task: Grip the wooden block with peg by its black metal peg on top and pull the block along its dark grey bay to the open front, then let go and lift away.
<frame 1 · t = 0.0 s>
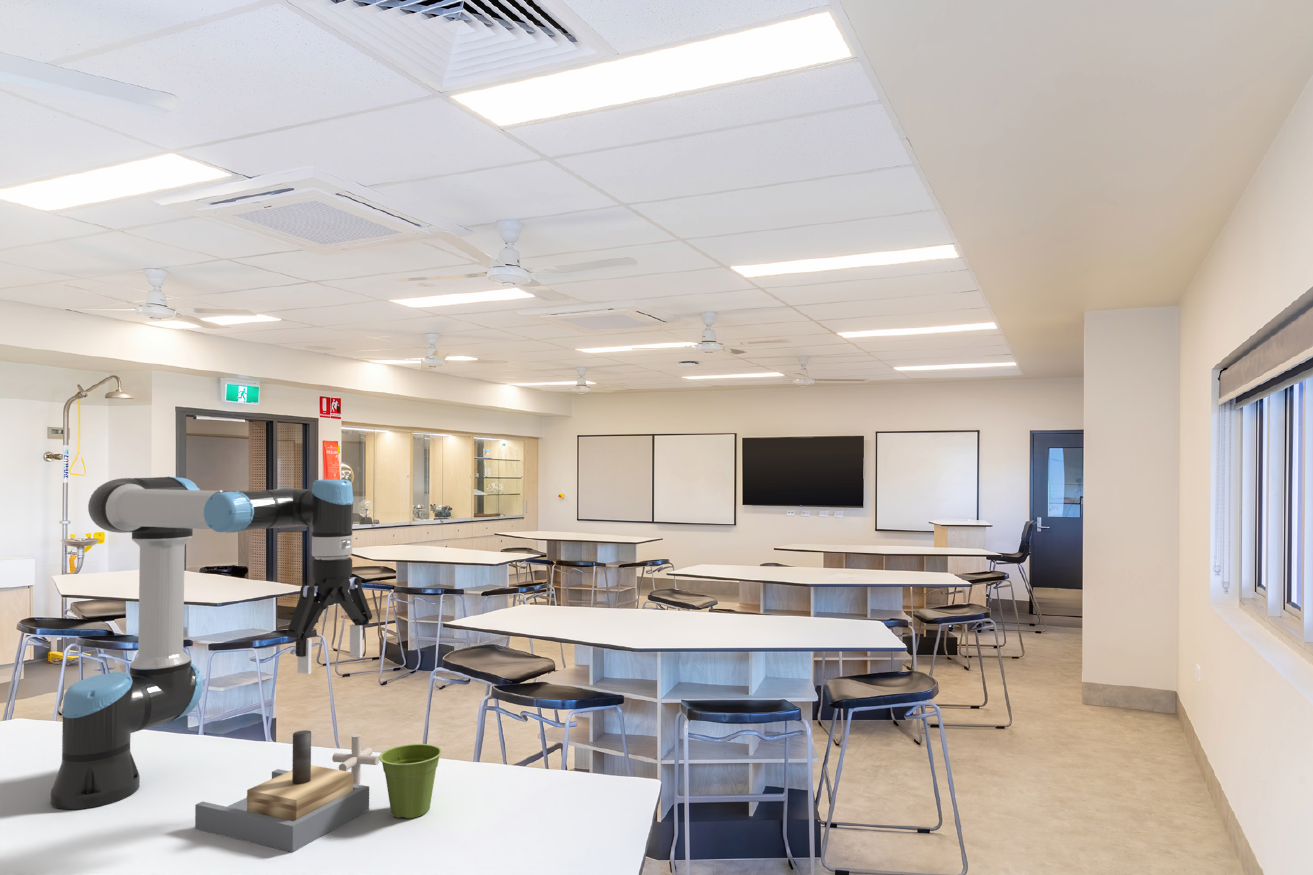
hand: (331, 664, 164), 28 cm above the table, tool pointing down, fingers open, 13 cm apart
pipe connector: (355, 783, 175), on the table
plant pot: (410, 812, 161), on the table
bay: (284, 818, 158), on the table
wooden block with peg: (301, 772, 156), point 9 cm above the table, slide at 0.0 cm
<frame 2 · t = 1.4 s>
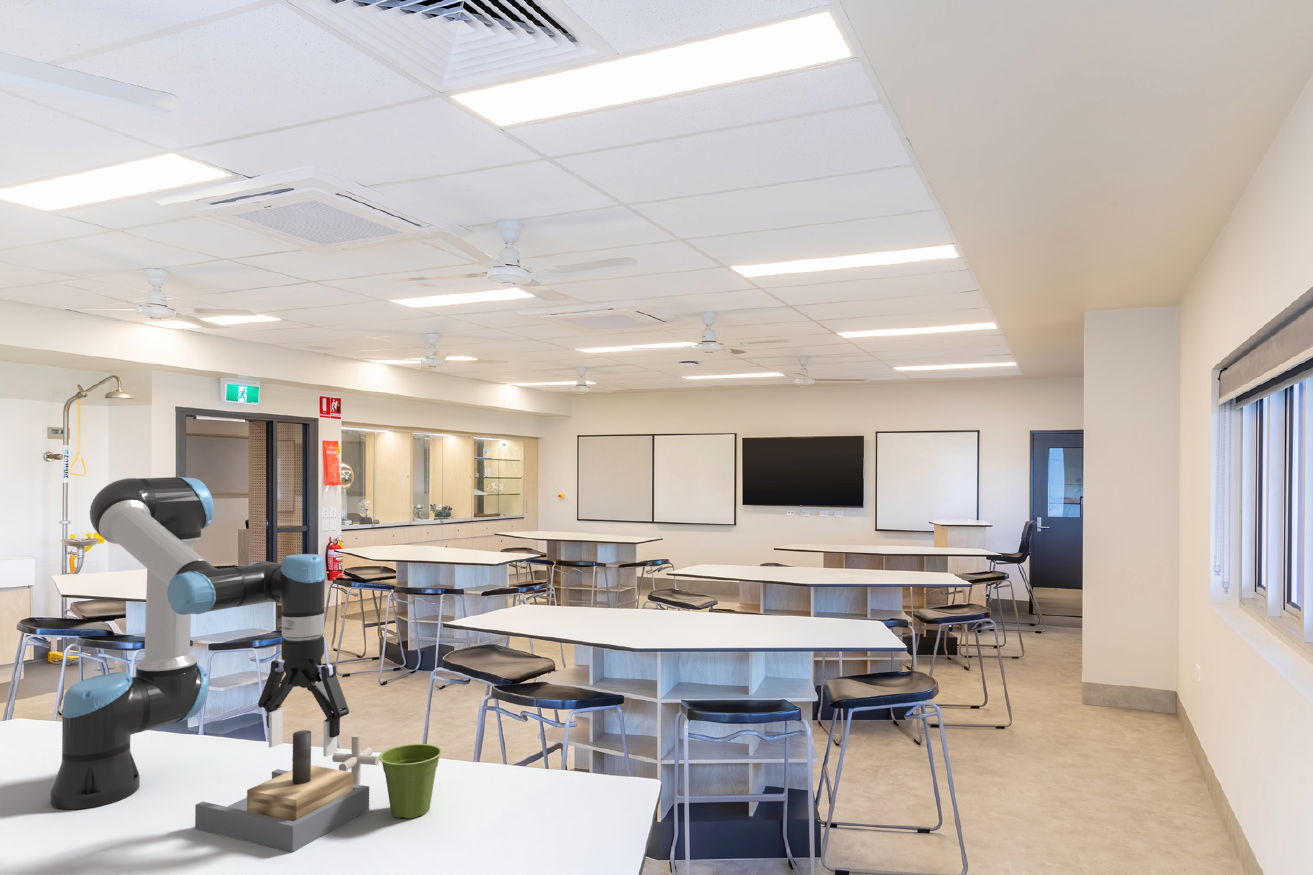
hand: (302, 749, 156), 14 cm above the table, tool pointing down, fingers open, 13 cm apart
nothing on the table moved.
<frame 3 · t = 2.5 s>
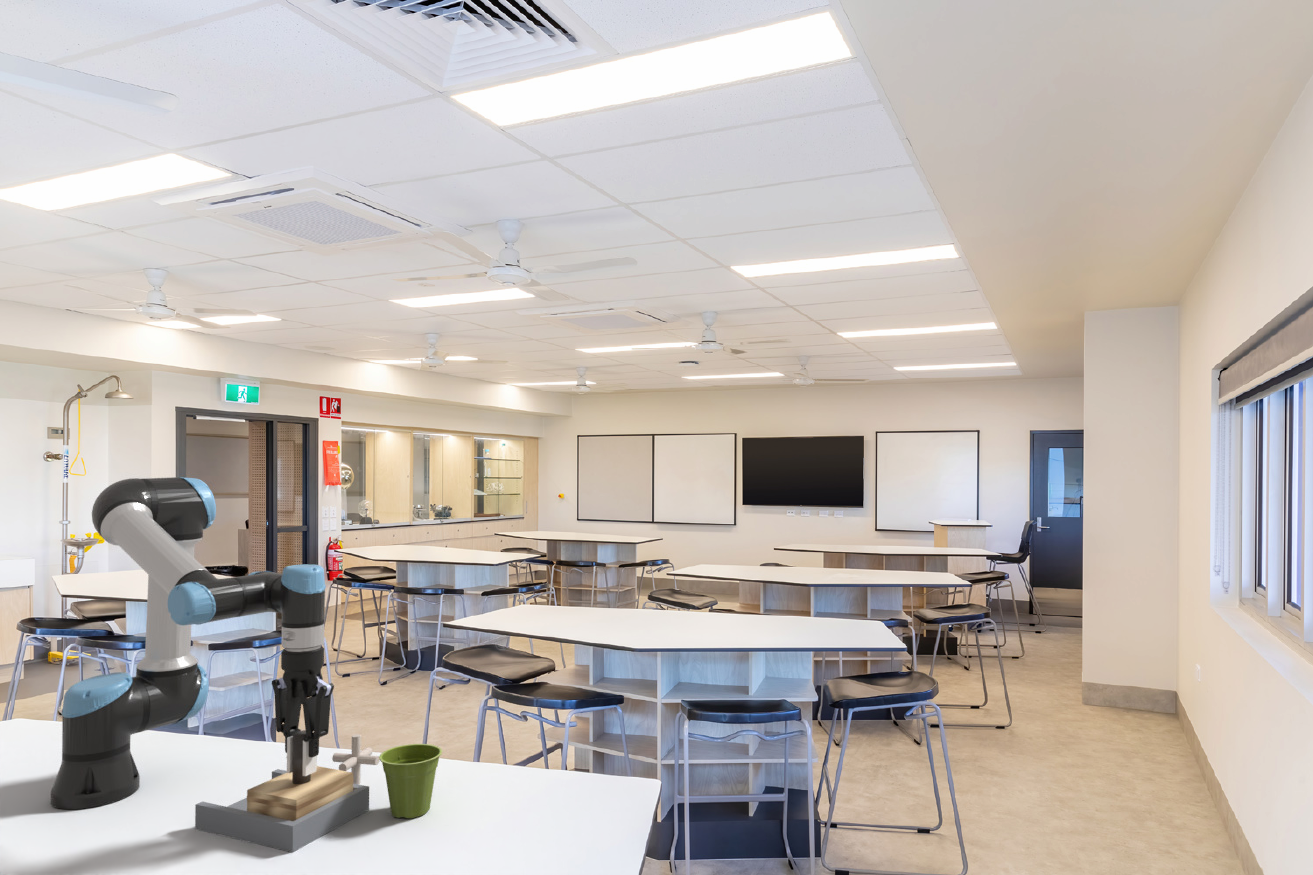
hand: (301, 771, 156), 10 cm above the table, tool pointing down, fingers closed on wooden block with peg, 3 cm apart
wooden block with peg: (301, 772, 156), point 9 cm above the table, slide at 0.0 cm, touching gripper
everything else where it was.
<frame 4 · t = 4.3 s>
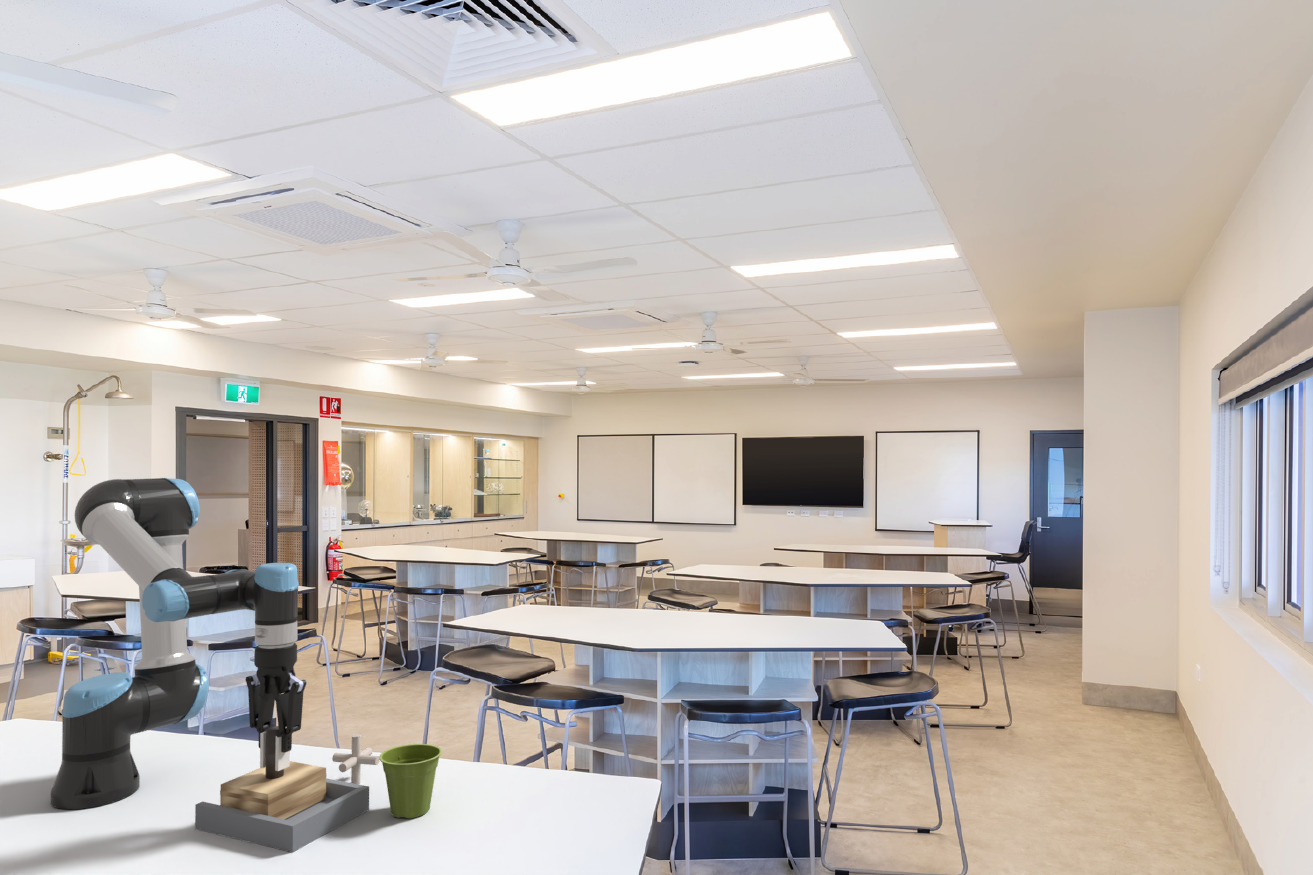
hand: (274, 766, 159), 10 cm above the table, tool pointing down, fingers closed on wooden block with peg, 3 cm apart
wooden block with peg: (274, 767, 159), point 9 cm above the table, slide at 6.8 cm, touching gripper
everything else where it was.
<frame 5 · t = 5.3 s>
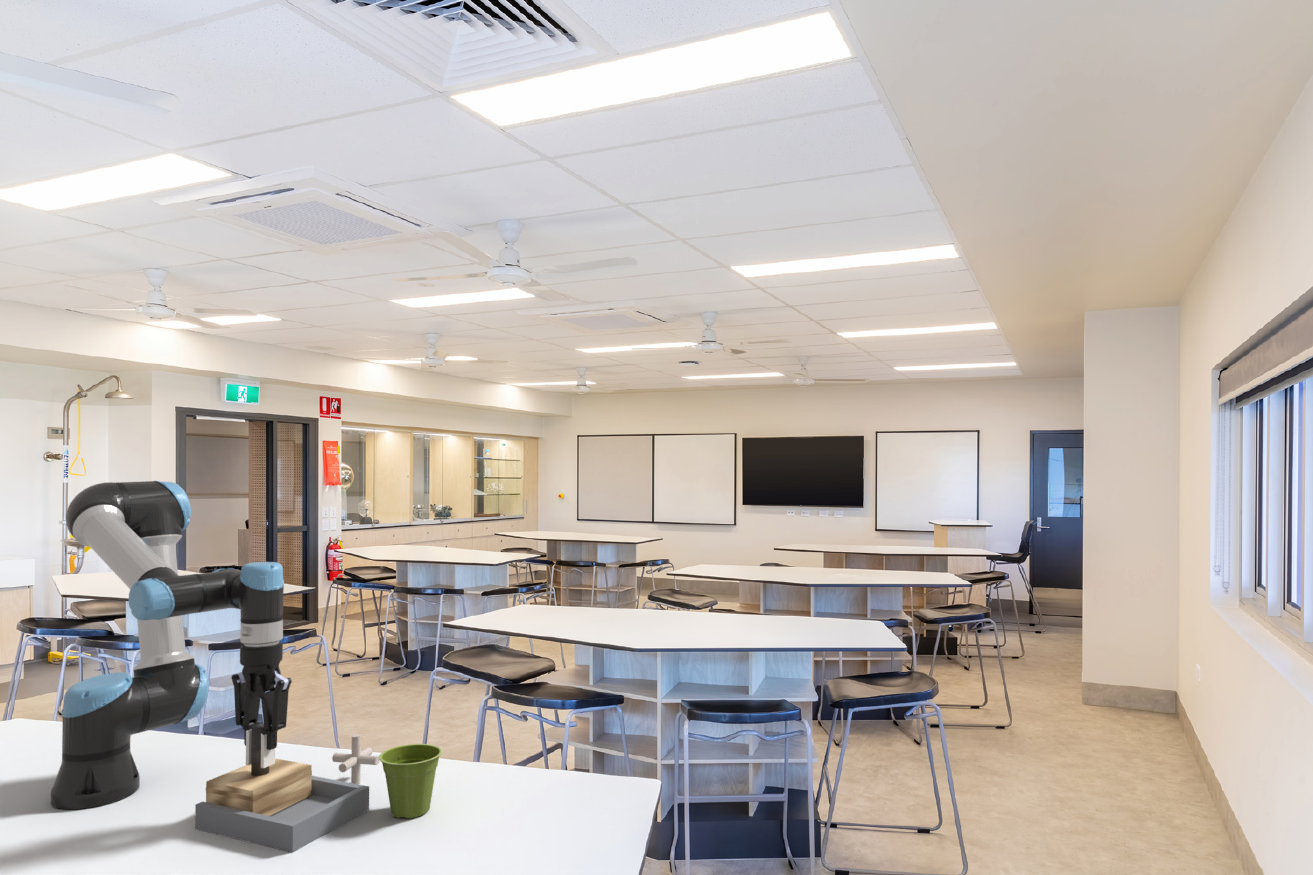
hand: (260, 763, 160), 10 cm above the table, tool pointing down, fingers closed on wooden block with peg, 3 cm apart
wooden block with peg: (260, 765, 160), point 9 cm above the table, slide at 10.6 cm, touching gripper
everything else where it was.
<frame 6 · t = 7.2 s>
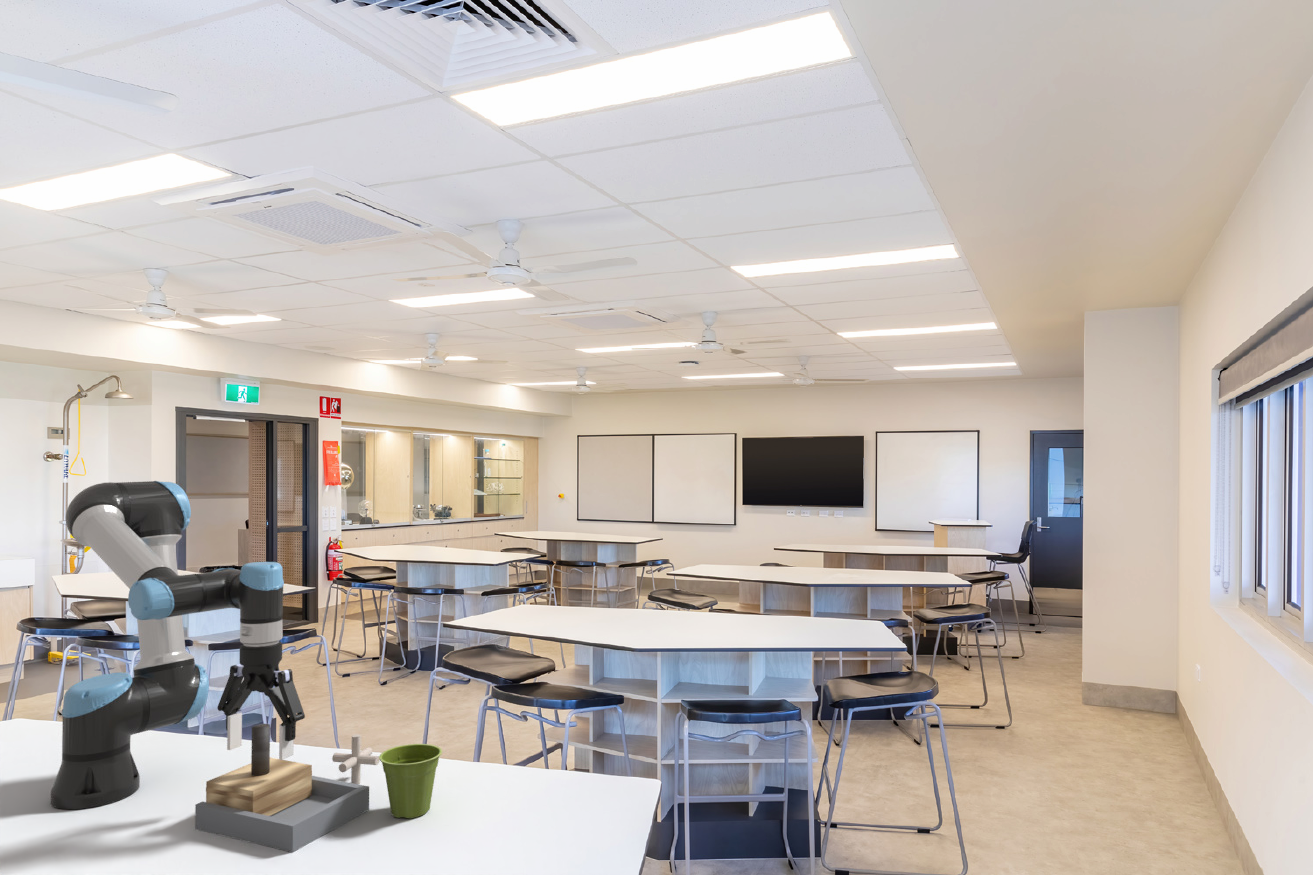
hand: (259, 752, 161), 12 cm above the table, tool pointing down, fingers open, 13 cm apart
wooden block with peg: (260, 765, 160), point 9 cm above the table, slide at 10.5 cm
everything else where it was.
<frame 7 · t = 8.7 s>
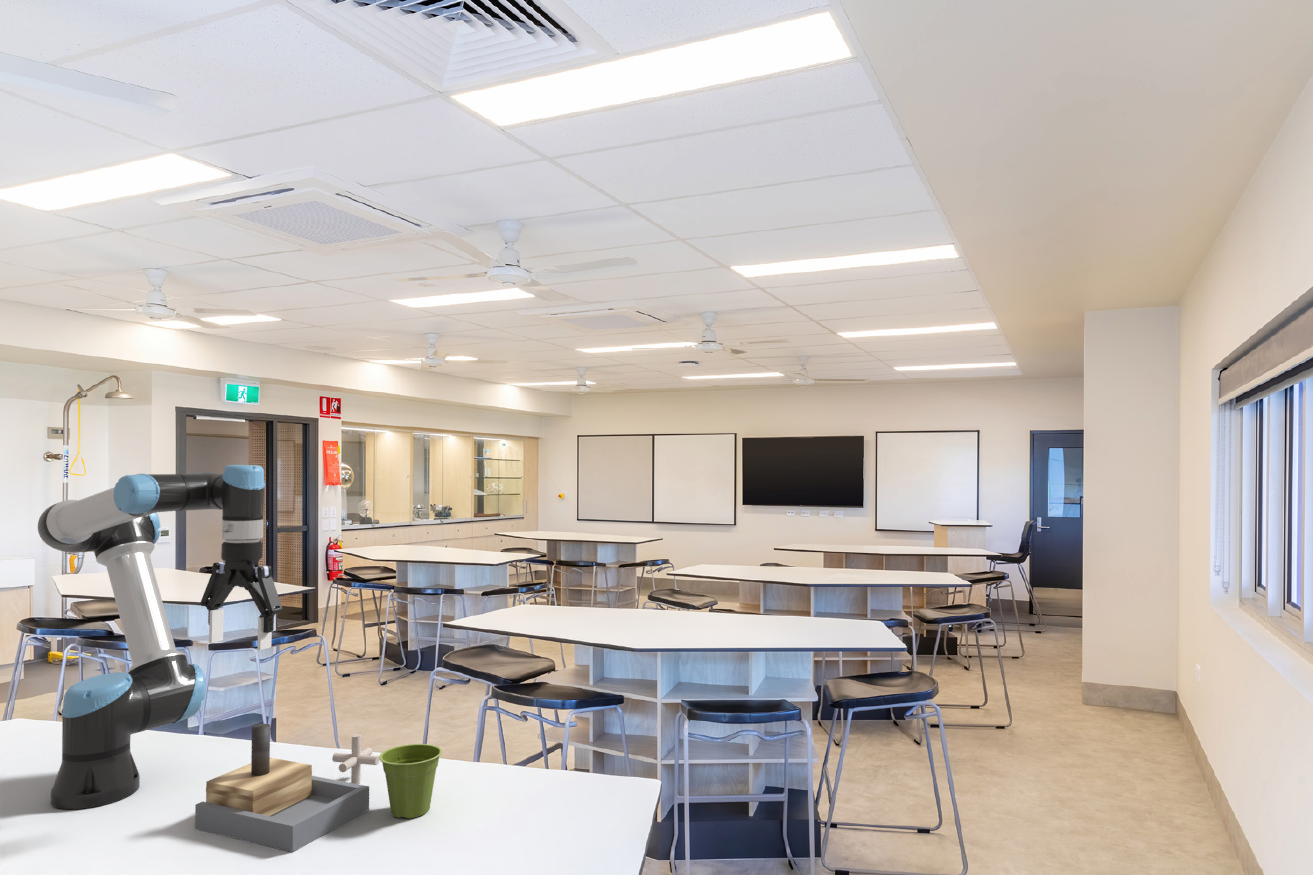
hand: (239, 645, 168), 31 cm above the table, tool pointing down, fingers open, 13 cm apart
nothing on the table moved.
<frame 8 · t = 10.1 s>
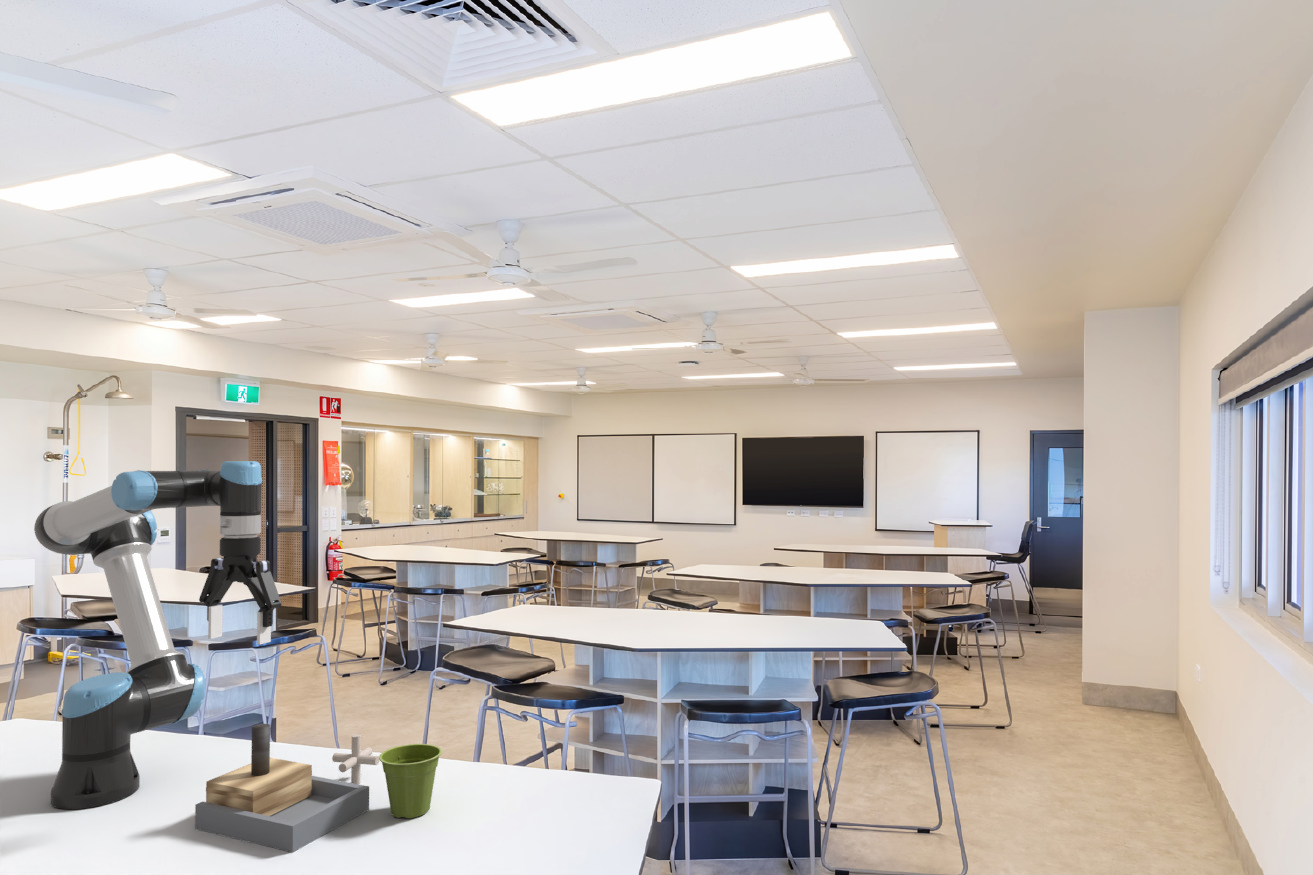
hand: (239, 640, 169), 32 cm above the table, tool pointing down, fingers open, 13 cm apart
nothing on the table moved.
at the end: wooden block with peg slide at 10.5 cm; pipe connector moved 0.2 cm from its start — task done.
